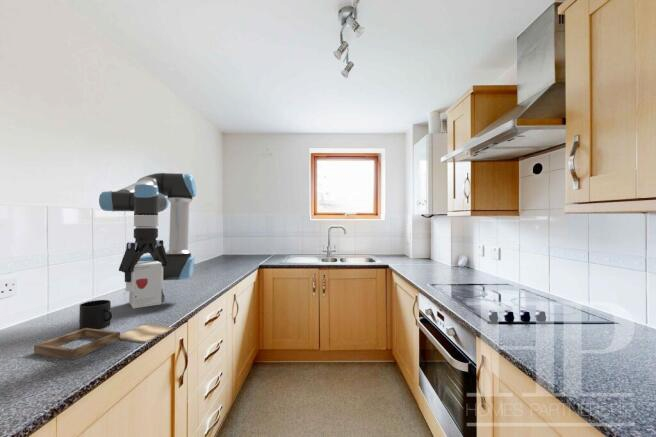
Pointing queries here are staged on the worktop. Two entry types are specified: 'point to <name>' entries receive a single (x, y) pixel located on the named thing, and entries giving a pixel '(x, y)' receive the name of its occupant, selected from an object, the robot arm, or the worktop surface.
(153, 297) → the supplement box
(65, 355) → the walnut frame
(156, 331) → the light wooden block
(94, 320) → the mug
